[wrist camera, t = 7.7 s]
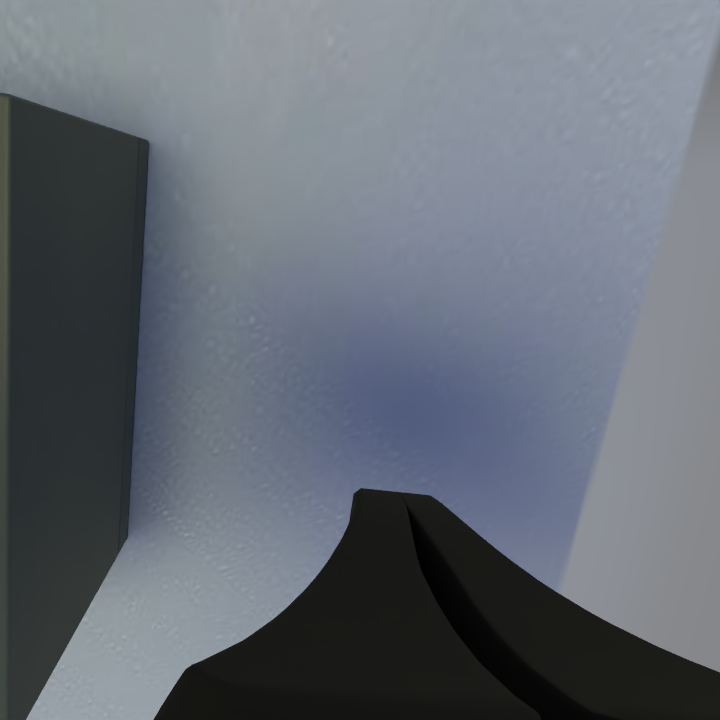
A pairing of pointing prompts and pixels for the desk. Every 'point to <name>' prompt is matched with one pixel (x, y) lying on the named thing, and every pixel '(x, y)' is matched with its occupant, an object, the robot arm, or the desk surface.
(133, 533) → the desk surface
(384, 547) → the robot arm
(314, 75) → the desk surface
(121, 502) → the dark grey storage bin
